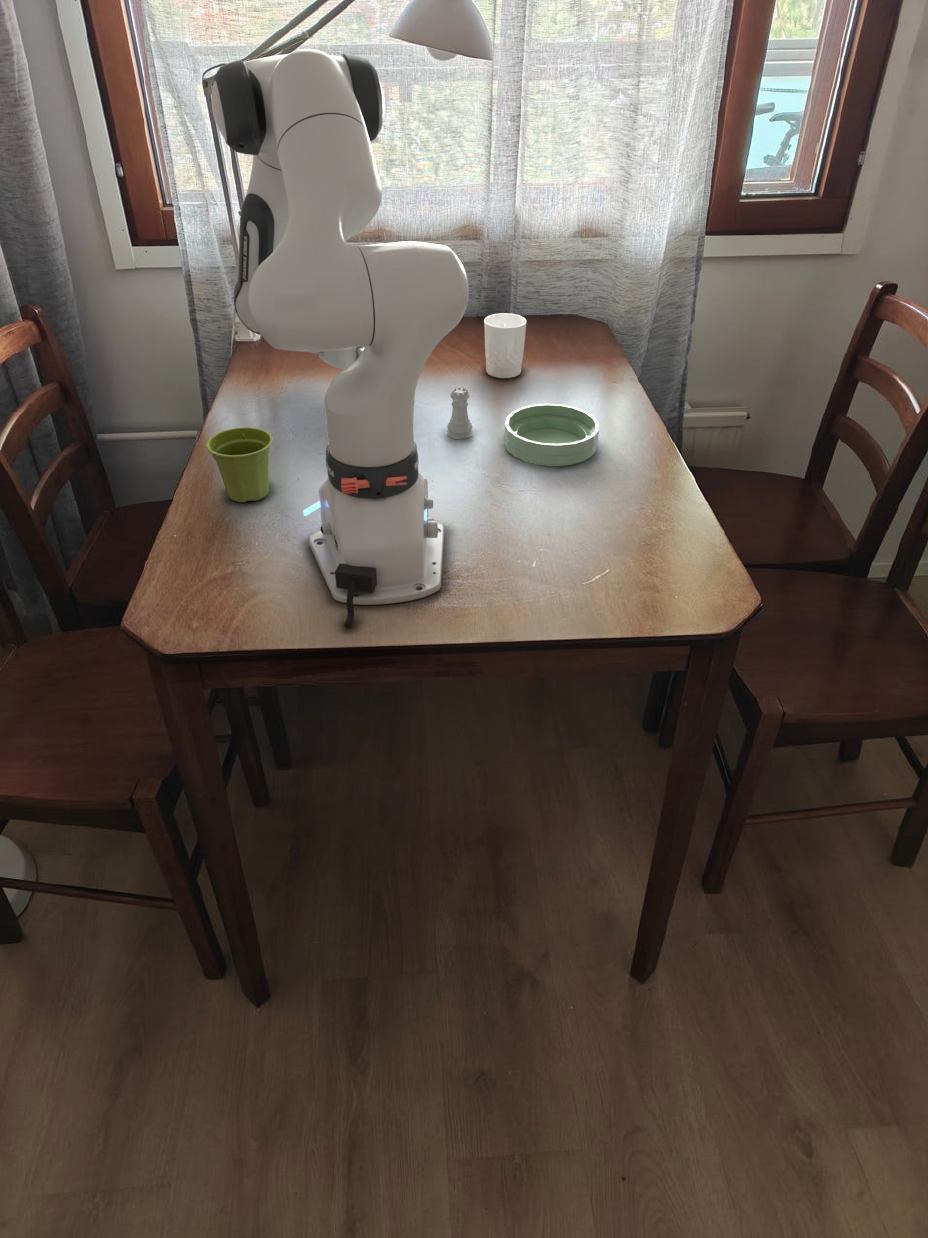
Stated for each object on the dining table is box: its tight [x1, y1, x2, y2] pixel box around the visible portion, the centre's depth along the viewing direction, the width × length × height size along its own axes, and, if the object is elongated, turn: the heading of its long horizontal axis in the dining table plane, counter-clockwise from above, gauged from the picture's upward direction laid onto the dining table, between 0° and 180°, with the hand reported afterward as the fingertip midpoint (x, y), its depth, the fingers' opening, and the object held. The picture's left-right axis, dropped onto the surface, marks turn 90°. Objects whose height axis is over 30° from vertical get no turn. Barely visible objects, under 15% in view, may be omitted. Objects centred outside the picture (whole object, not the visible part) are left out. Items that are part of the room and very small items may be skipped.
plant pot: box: [206, 426, 273, 503], centre depth 130 cm, size 9×9×9 cm
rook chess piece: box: [446, 386, 474, 441], centre depth 146 cm, size 4×4×8 cm
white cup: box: [483, 312, 527, 379], centre depth 166 cm, size 8×8×10 cm
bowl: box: [503, 403, 600, 467], centre depth 143 cm, size 15×15×4 cm
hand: (404, 350), depth 147 cm, fingers open, 8 cm apart
